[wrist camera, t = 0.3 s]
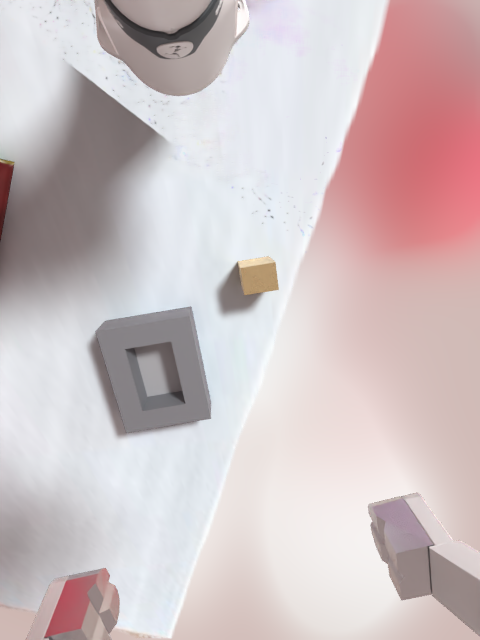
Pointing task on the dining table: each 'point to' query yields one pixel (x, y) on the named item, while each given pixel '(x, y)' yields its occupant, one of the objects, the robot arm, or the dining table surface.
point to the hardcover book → (4, 188)
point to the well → (156, 369)
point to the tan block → (258, 275)
